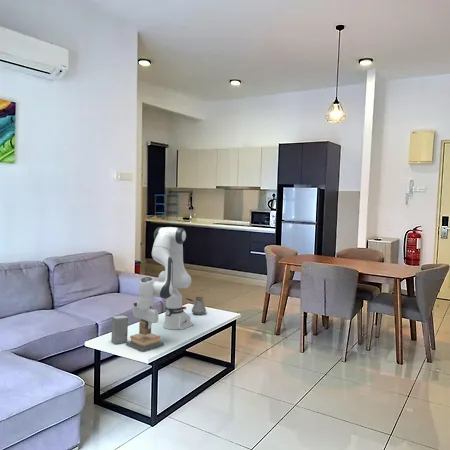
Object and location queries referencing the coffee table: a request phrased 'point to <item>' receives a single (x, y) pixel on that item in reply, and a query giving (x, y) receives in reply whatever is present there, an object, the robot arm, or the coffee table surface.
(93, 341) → the coffee table surface
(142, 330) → the walnut column
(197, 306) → the coffee pot
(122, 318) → the skincare box
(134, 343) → the stand
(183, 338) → the coffee table surface
